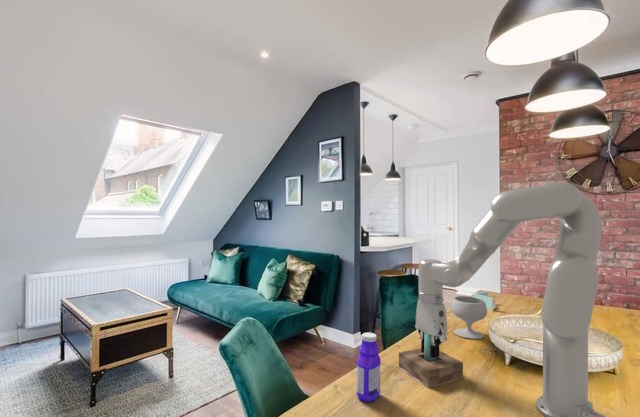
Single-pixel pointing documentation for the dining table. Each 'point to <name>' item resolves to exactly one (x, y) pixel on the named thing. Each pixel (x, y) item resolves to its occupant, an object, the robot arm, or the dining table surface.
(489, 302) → the l-shaped corner panel
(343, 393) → the dining table surface
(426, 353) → the peg
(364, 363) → the bottle
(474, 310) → the chalice
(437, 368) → the socket block
